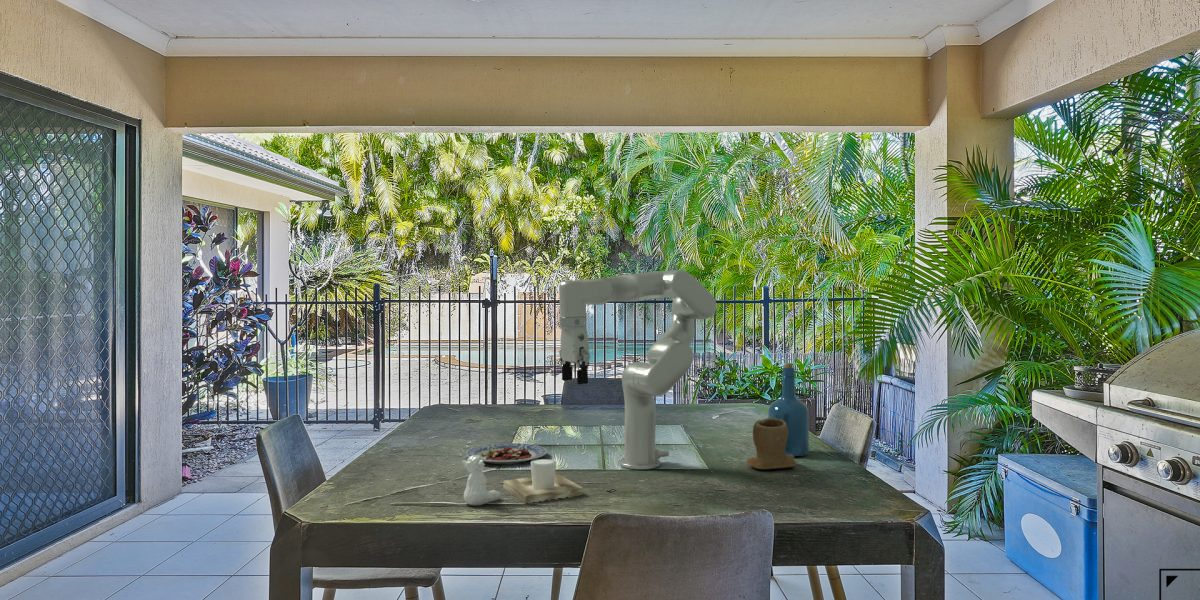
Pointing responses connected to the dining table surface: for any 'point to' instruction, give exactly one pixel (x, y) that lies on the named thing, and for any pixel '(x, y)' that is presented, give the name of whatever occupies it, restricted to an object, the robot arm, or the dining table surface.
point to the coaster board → (528, 495)
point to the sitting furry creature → (477, 483)
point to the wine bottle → (792, 414)
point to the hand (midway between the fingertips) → (574, 381)
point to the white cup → (543, 473)
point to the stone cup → (771, 445)
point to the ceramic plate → (507, 452)
